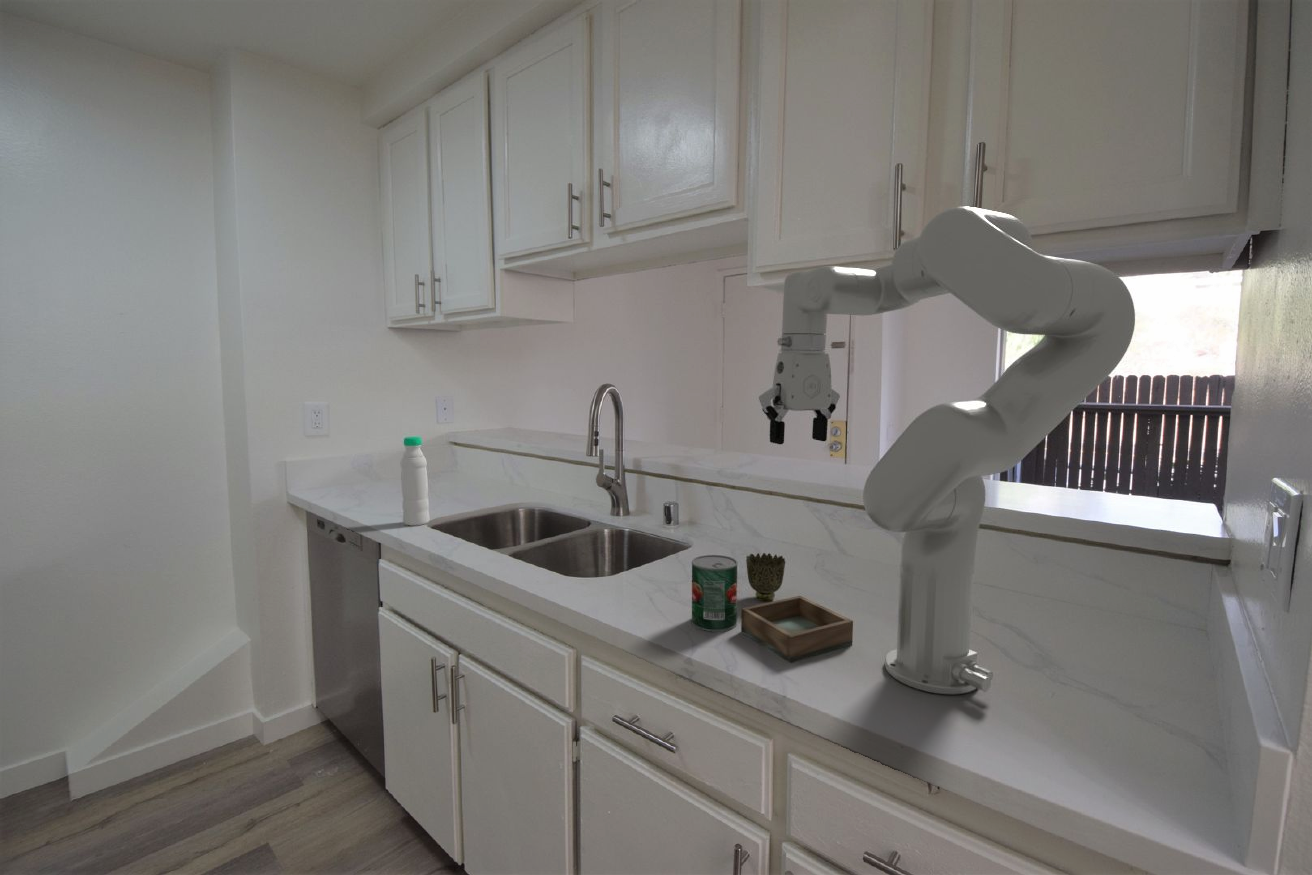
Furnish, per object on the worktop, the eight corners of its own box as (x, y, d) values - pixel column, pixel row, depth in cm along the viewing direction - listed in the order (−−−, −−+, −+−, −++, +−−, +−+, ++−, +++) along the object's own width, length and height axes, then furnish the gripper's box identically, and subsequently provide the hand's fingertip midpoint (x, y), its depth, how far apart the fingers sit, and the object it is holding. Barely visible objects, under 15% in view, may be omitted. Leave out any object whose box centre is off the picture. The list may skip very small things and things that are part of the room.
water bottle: (423, 519, 184) (419, 435, 181) (433, 523, 179) (429, 437, 176) (399, 523, 179) (395, 437, 177) (409, 527, 174) (404, 439, 171)
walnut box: (852, 645, 99) (853, 620, 99) (790, 662, 93) (790, 636, 93) (799, 617, 110) (800, 595, 110) (741, 631, 104) (741, 608, 104)
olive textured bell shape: (784, 607, 115) (785, 565, 114) (744, 604, 116) (745, 562, 115) (784, 593, 122) (785, 553, 121) (746, 590, 124) (747, 551, 123)
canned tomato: (684, 617, 110) (684, 557, 109) (724, 611, 113) (724, 552, 112) (702, 635, 103) (703, 570, 102) (745, 628, 106) (745, 565, 104)
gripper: (777, 344, 101) (772, 447, 104) (855, 346, 109) (849, 442, 112) (750, 344, 108) (746, 441, 110) (826, 345, 116) (821, 436, 118)
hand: (798, 441), depth 111 cm, fingers open, 9 cm apart
